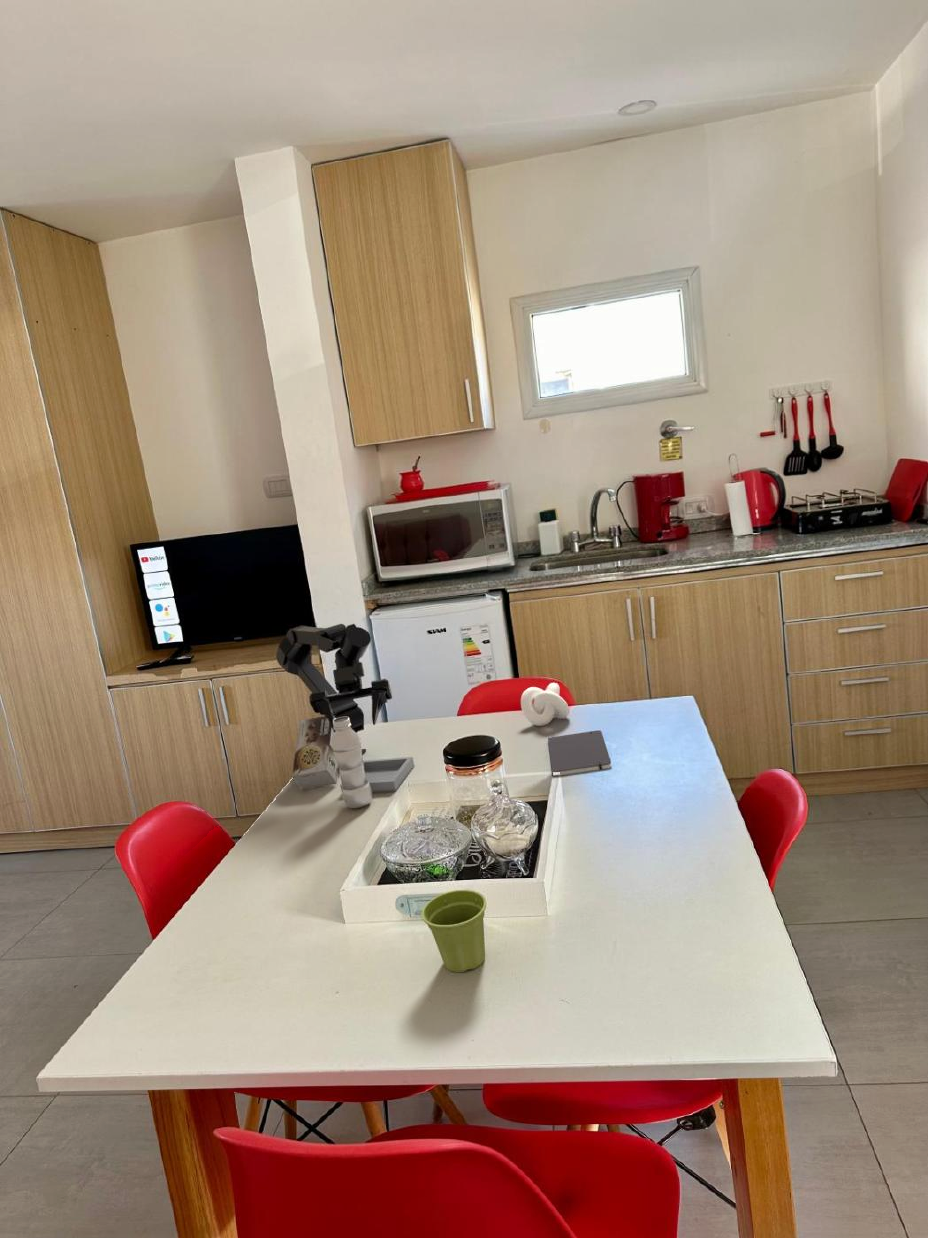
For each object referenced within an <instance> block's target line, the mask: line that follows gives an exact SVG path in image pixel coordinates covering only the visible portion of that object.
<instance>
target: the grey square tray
mask: <svg viewBox="0 0 928 1238" xmlns="http://www.w3.org/2000/svg"><path fill="white" fill-rule="evenodd" d="M363 766H364V770H365V773H366V776H367V780H368V782H369V784H370V786H371V789H372V794H380V793H381V794H383V793H384V794H385V793H396V792H397V791H398V790H399V788H400V787H401V785H402V784H403V783H404V782H405V780H406V779H407V778H408V776H409V775H410V773H411V772H412V771H413V769H414V768H415V763H414V758H413V756H407V757H394V758H382V759H369V760H363ZM413 767H414V768H413ZM411 770H412V771H411ZM409 772H410V773H409ZM408 774H409V775H408ZM407 775H408V776H407ZM403 781H404V782H403ZM397 789H398V790H397ZM340 791H342V783H341V784H340Z"/></svg>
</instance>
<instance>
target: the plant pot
mask: <svg viewBox="0 0 928 1238" xmlns="http://www.w3.org/2000/svg"><path fill="white" fill-rule="evenodd" d="M486 908H487V900H486V897H485V896H484V895H483V894H482V893H480V892H479V891H475V890H471V889H455V890H451V891H447V892H444V893H441V894H439V895H437V896H435V897H433V898H432V899H430V900H429V901H428V902H427V903H426V904H425V905H424V906H423V908H422V910H421V917H422V921H423V922H424V923H425V924H426V925H427V926H428V928H429V930H430V931H431V933H432V936H433V939H434V941H435V944H436V946H437V949H438V951H439V955H440V957H441V959H442V962H443V965H444V967H445V968H446V969H447V970H448V971H450V972H453V973H464V972H466V971H467V970H475V969H477V968H478V967H479V966H481V965H482V964H483V963H484V961H485V960H486V946H485V944H486V943H485V925H484V917H485V910H486Z"/></svg>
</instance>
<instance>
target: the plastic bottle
mask: <svg viewBox="0 0 928 1238" xmlns="http://www.w3.org/2000/svg"><path fill="white" fill-rule="evenodd" d="M333 726H334V727H333V728H334V730H335V734H334V736H333V739H332V741H331V747H332V750H333V753H334V756H335V758H336V761H337V764H338V771H339V773H340V781H341V784H342V790H341V793H342V800H343V802H344V805H345V806H346V807H348V808H349V809H359V808H363V807H365V806H367V805H368V804H370V803H371V802H372V799H373V793H372V789H371V786H370V784H369V782H368V780H367V776H366V773H365V770H364V766H363V761H364V760H363V755H362V752H361V749H362V741H361V738H360V736H359V734H358V732H357V733H356V732H355V731H354V730H352V729H351V728H350V727H351V723H350V719H349V717H347V716H344V717H339V718H336V719H334V720H333Z"/></svg>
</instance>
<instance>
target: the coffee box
mask: <svg viewBox="0 0 928 1238" xmlns="http://www.w3.org/2000/svg"><path fill="white" fill-rule="evenodd" d="M334 719H336V718H335V717H334ZM334 734H335V733H334V731H333V729H332V727H331V724H330V722H329V720H328V719H327V717H326V716H325V715H322V716H319V717H313V718H306V719H301V720H299V722H298V732H297V738H296V746H295V750H294V751H295V753H294V760H293V767H292V775H291V778H292V779H293V780H294V781H295V783H296V784H297V785H298V786H299V788H300V789H301V790H309V789H313V788H319V787H320V788H321V787H325V786H331V785H336V784H337V783H338V775H339V774H338V771H339V768H338V764H337V761H336V758H335V756H334V753H333V750H332V747H331V741H332V739H333V736H334Z"/></svg>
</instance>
